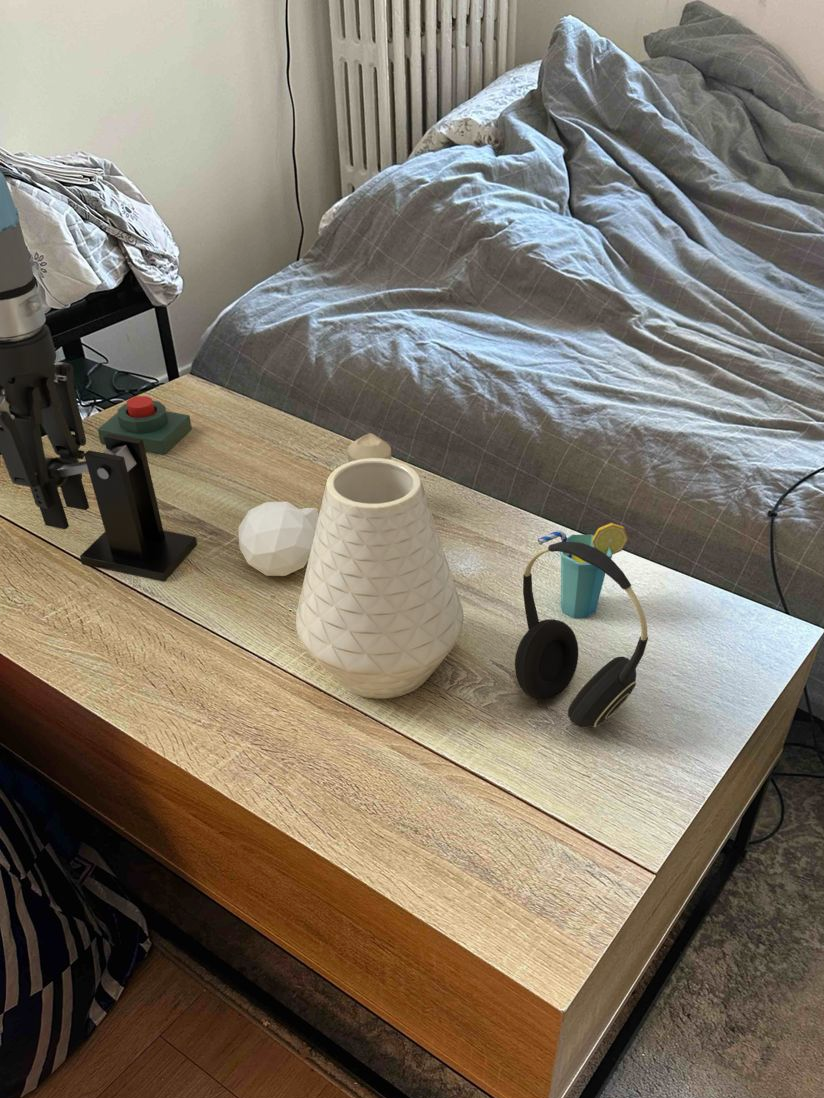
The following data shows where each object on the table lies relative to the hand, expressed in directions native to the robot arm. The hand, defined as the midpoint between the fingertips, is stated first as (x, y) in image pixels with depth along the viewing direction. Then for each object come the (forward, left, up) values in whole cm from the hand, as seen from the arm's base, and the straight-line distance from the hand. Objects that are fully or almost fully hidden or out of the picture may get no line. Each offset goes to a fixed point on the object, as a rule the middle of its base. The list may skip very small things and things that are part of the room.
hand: (67, 515), depth 117 cm
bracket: (+9, 0, -4) cm, 10 cm away
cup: (+62, +6, -4) cm, 62 cm away
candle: (+32, +19, -4) cm, 37 cm away
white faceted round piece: (+27, +4, -4) cm, 27 cm away
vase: (+44, -10, -4) cm, 45 cm away
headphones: (+65, -10, -4) cm, 66 cm away
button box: (-5, +26, -4) cm, 27 cm away
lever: (+5, 0, +6) cm, 7 cm away
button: (-5, +26, 0) cm, 26 cm away
